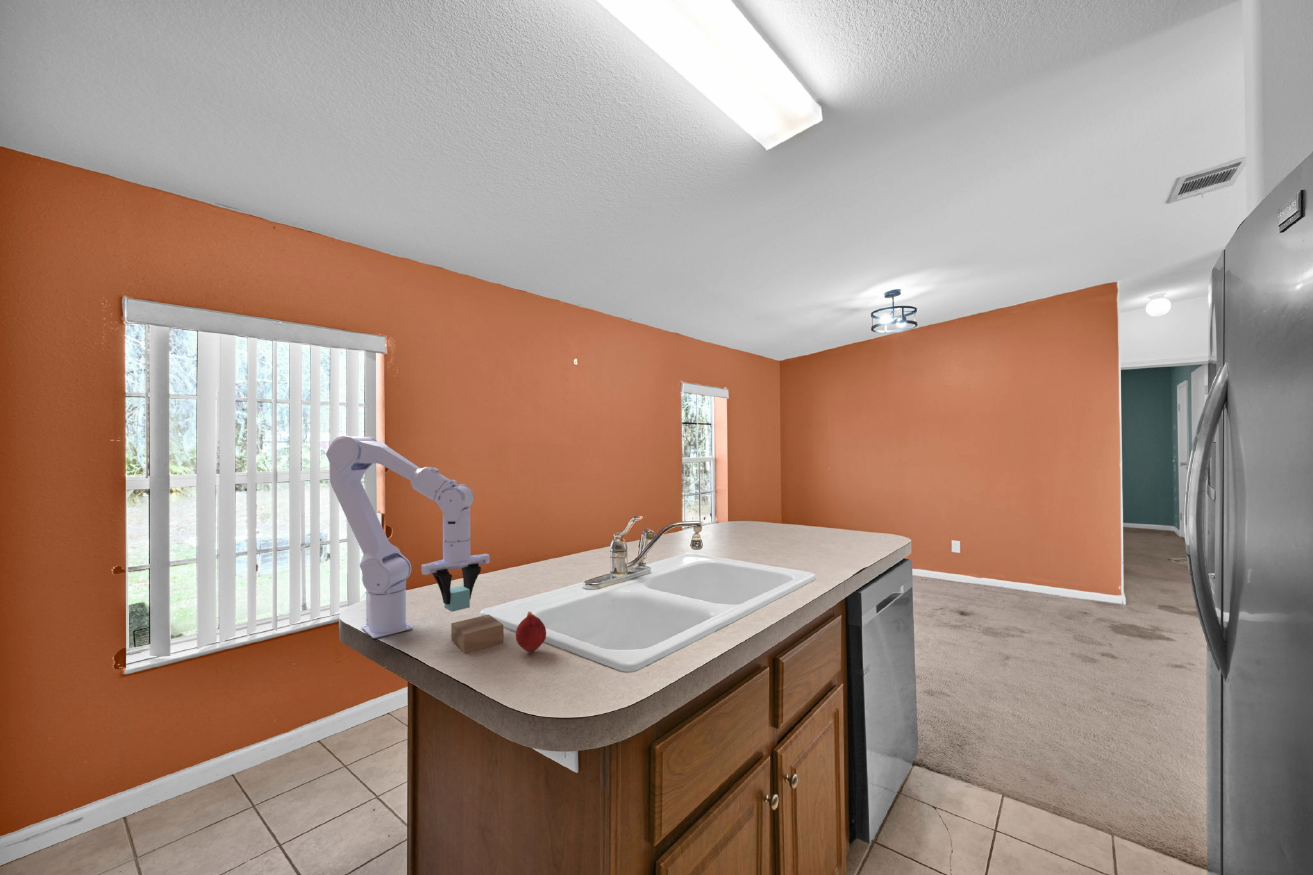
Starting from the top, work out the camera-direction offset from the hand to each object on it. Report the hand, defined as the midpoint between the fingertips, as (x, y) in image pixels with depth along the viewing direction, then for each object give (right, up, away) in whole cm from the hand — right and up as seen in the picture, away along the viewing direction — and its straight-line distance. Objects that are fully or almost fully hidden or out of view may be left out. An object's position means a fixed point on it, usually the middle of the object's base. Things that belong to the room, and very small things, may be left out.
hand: (457, 600), depth 111 cm
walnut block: (+7, -6, -7) cm, 12 cm away
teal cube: (0, -2, 0) cm, 2 cm away
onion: (+20, -6, -13) cm, 24 cm away
